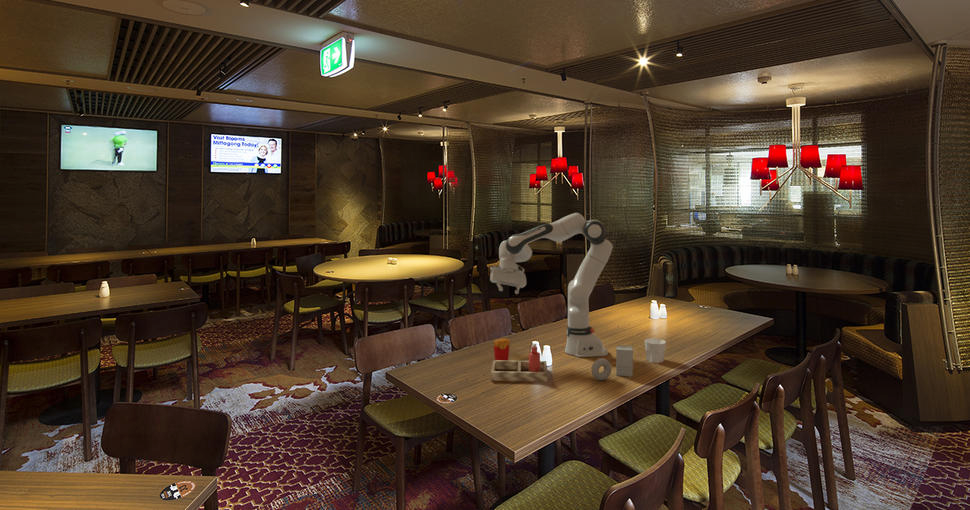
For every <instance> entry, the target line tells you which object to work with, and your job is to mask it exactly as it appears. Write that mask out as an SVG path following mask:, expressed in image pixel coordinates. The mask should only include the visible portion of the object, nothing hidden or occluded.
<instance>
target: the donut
mask: <svg viewBox="0 0 970 510" xmlns="http://www.w3.org/2000/svg"><path fill="white" fill-rule="evenodd" d="M601 367H603V370H602V372H600V368H601ZM590 369H591V372H590V373H591V375H592V377H593V378H594V379H595V380H597V381H605V380H607V379H608V378H609V377H610V376H611V373H612V365H611V362H610V361H609V360H608V359H606V358H598V359H596V360H595V361H594V362H593V363H592V365H591V368H590Z"/></svg>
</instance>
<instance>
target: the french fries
mask: <svg viewBox="0 0 970 510" xmlns="http://www.w3.org/2000/svg"><path fill="white" fill-rule="evenodd" d="M510 342H511V339H509V338H506V337H504V338H499V339H495V340H494V341H493V355H494V360H509V356H510V355H509V354H510V344H511V343H510Z"/></svg>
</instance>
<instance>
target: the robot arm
mask: <svg viewBox="0 0 970 510" xmlns="http://www.w3.org/2000/svg"><path fill="white" fill-rule="evenodd" d="M578 234H582V235H583V237H585V239H587V240H588V241H589V242H590V247H589V250H588V251H587V253H586V255H585V257H584V259H583V260H582V262H581V264H580V266H579V268H578V269H577V271H576V274H575V276H574V278H573V279H572V280H570V281H569V283H568V284H567V285H568V286H567V326H566V337H567V338H566V342H565V343H566V345H565V348H564V353H566V354H568V355H571V356H575V357H578V358H587V357H588V358H590V357H606V356H608V354H609V353H608V350H607V348H605V347H604V343H603V341H602V340H601V338H599V337H598V335H596V334H594V332H595V328H593V327H592V326H591V325H590V321H589V320H590V316H589V315H590V310H589V309H590V308H589V305H590V304H589V302H590V301H589V299H590V295H591V294H592V292H593V289H594V288H595V286H596V283H597V281H598V279H599V277H600V275H601V273H602V272H603V270H604V268H605V266H606V264H607V263H608V261H609V258H610V257H611V253H612V252H613V251H612V250H613V244H612V242H611V241H609V240H608V239H606V227H605V226H604V224H603V223H602V222H601V221H600V220H597V219H587V220H586V219H585V218H584V216H583V215H582V214H581V213H579V212H574V213H571V214H568V215H566V216H564V217H562V218H560V219H558V220H555V221H554V222H550V223H544V224H541V225H538V226H536V227H533V228H531V229H528V230H526V231H524V232H522V233H516V234H512V235H511V236H509V237H508V238H507V239H506V240H503V241H502V242H501V243H500V245H499V248H498V258H499V263H498V264H499V266H498V265H497V266H496V265H492V266H491V267H490V274H489V275H490V277H489V281H490V282H491V283H494V284H496V286H497V288H498V291H500V292H503V291H504V287H503V286H502V285H506V286H511V287H515V288H516V289H515V290H514V294H516V295H518V294H519V293H520V289H523V288H524V287H526V285H527V277H526V273H525V267H524V268H523V267H522V266H520V265H519V264H517V263H523V262H524V263H525V262H527V261H529V260H531V258H532V256H533V250H532V248H531V247H530V245H529V244H530V243H532V242H535V241H537V240H539V239H548V240H551V241H553V242H558V243H559V242H565V241H566V240H568V239H570V238H572V237H574V236H575V235H578Z"/></svg>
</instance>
